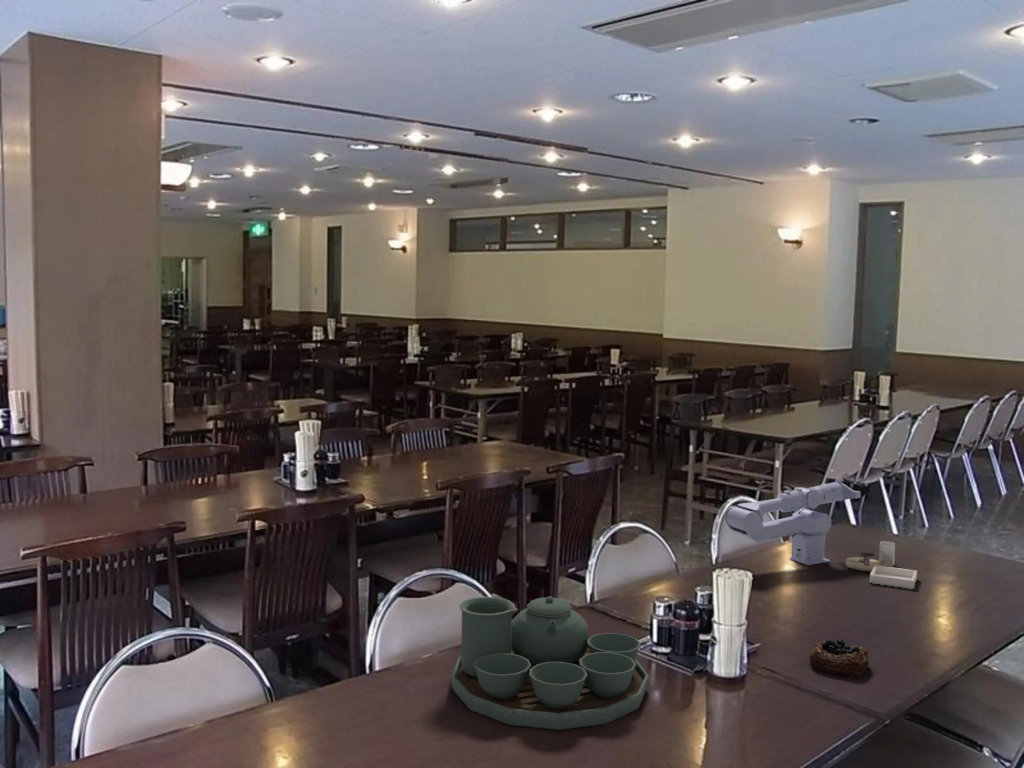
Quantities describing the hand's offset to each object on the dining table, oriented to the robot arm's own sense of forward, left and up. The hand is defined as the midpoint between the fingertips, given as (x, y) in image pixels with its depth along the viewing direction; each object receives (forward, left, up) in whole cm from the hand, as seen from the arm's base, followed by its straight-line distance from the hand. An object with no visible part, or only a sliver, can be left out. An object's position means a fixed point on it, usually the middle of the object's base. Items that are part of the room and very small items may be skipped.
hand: (859, 486), depth 291 cm
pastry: (-77, -65, -22) cm, 103 cm away
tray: (-14, -26, -22) cm, 36 cm away
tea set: (-139, -47, -22) cm, 148 cm away
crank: (-10, -12, -22) cm, 27 cm away
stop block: (-2, -14, -22) cm, 26 cm away
